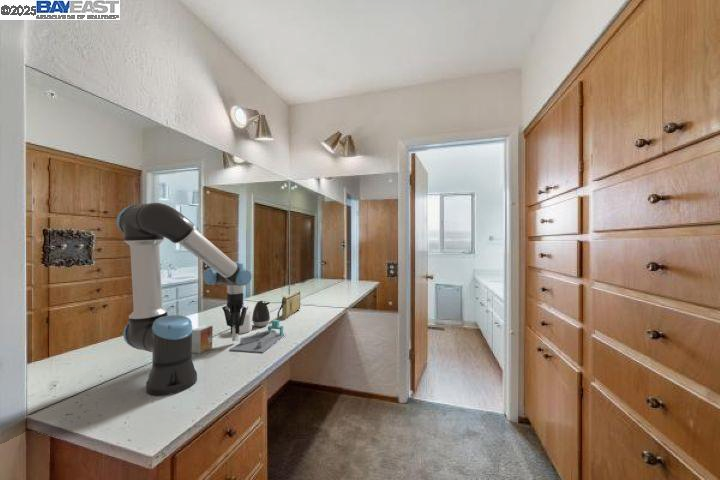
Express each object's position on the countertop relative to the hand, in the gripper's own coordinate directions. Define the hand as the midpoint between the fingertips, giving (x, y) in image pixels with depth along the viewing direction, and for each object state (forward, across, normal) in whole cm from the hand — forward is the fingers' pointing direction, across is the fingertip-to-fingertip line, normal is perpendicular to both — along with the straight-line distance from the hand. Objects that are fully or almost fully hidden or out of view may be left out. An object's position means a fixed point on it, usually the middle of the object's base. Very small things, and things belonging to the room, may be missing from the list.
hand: (235, 339), depth 141 cm
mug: (+2, +9, -19) cm, 21 cm away
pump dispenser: (+2, +3, -31) cm, 31 cm away
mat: (+2, -11, -4) cm, 12 cm away
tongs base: (+1, -15, -4) cm, 16 cm away
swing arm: (+1, -8, -4) cm, 10 cm away
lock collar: (+1, -14, -15) cm, 21 cm away
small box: (+2, +11, +10) cm, 15 cm away
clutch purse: (+2, -4, -59) cm, 59 cm away
